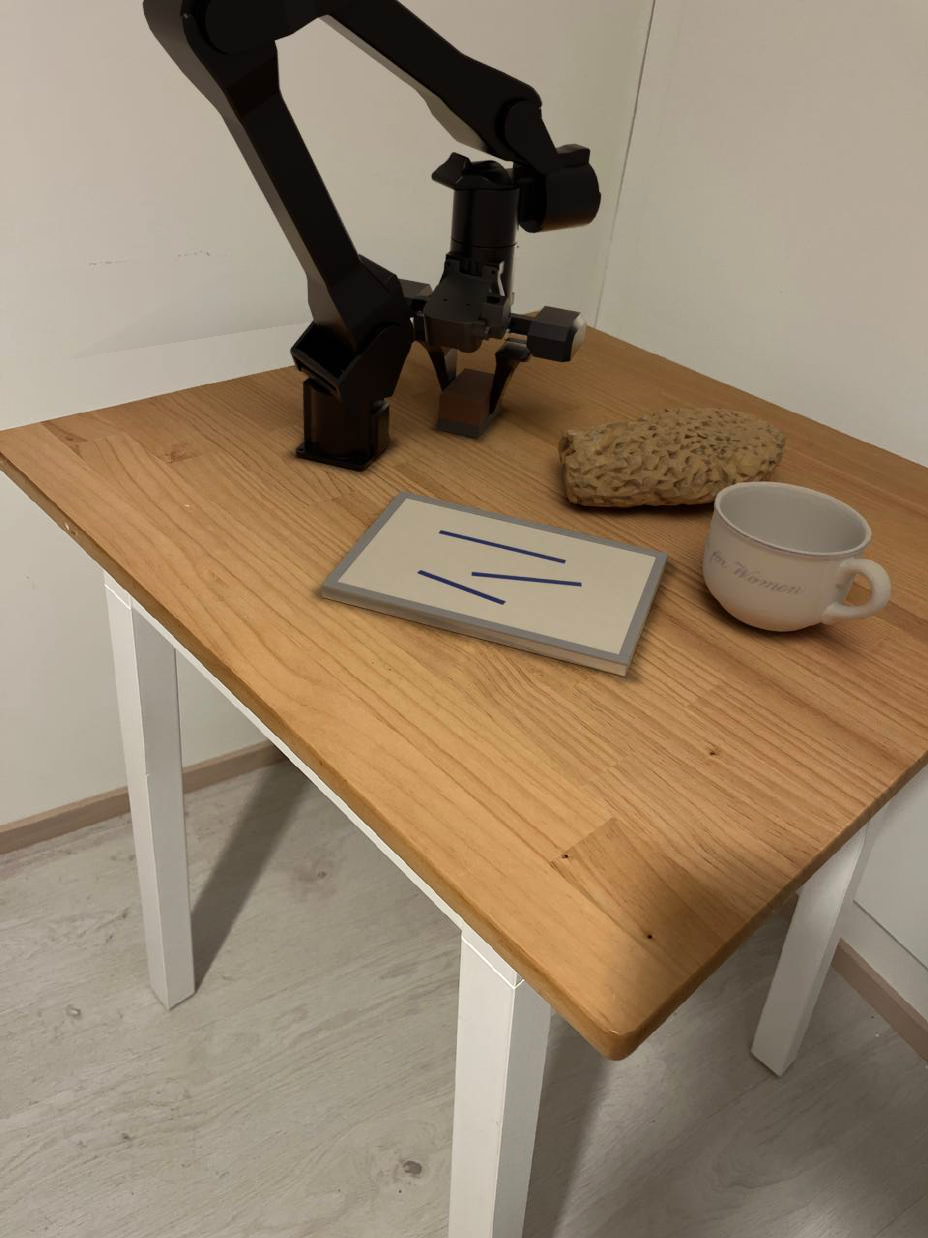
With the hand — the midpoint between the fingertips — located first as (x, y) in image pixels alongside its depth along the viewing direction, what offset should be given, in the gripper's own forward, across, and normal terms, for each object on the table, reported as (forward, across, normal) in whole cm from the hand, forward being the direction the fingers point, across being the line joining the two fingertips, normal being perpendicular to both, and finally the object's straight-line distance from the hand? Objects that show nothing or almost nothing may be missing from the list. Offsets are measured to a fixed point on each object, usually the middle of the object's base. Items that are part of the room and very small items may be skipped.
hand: (470, 407), depth 100 cm
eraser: (+1, 0, 0) cm, 1 cm away
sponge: (+1, +20, -5) cm, 21 cm away
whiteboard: (+1, +11, -25) cm, 27 cm away
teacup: (+1, +31, -21) cm, 37 cm away
